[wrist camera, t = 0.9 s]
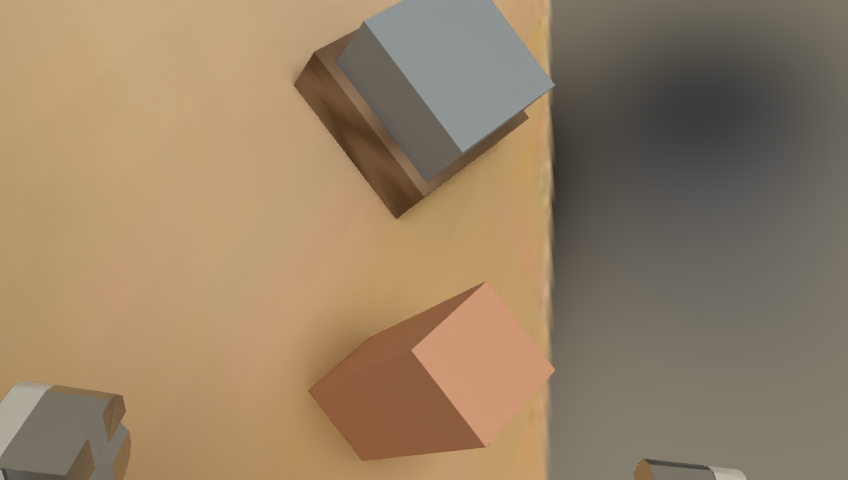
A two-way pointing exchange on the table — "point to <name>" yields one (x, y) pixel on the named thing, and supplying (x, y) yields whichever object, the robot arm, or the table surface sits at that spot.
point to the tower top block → (442, 76)
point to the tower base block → (374, 132)
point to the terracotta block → (435, 380)
